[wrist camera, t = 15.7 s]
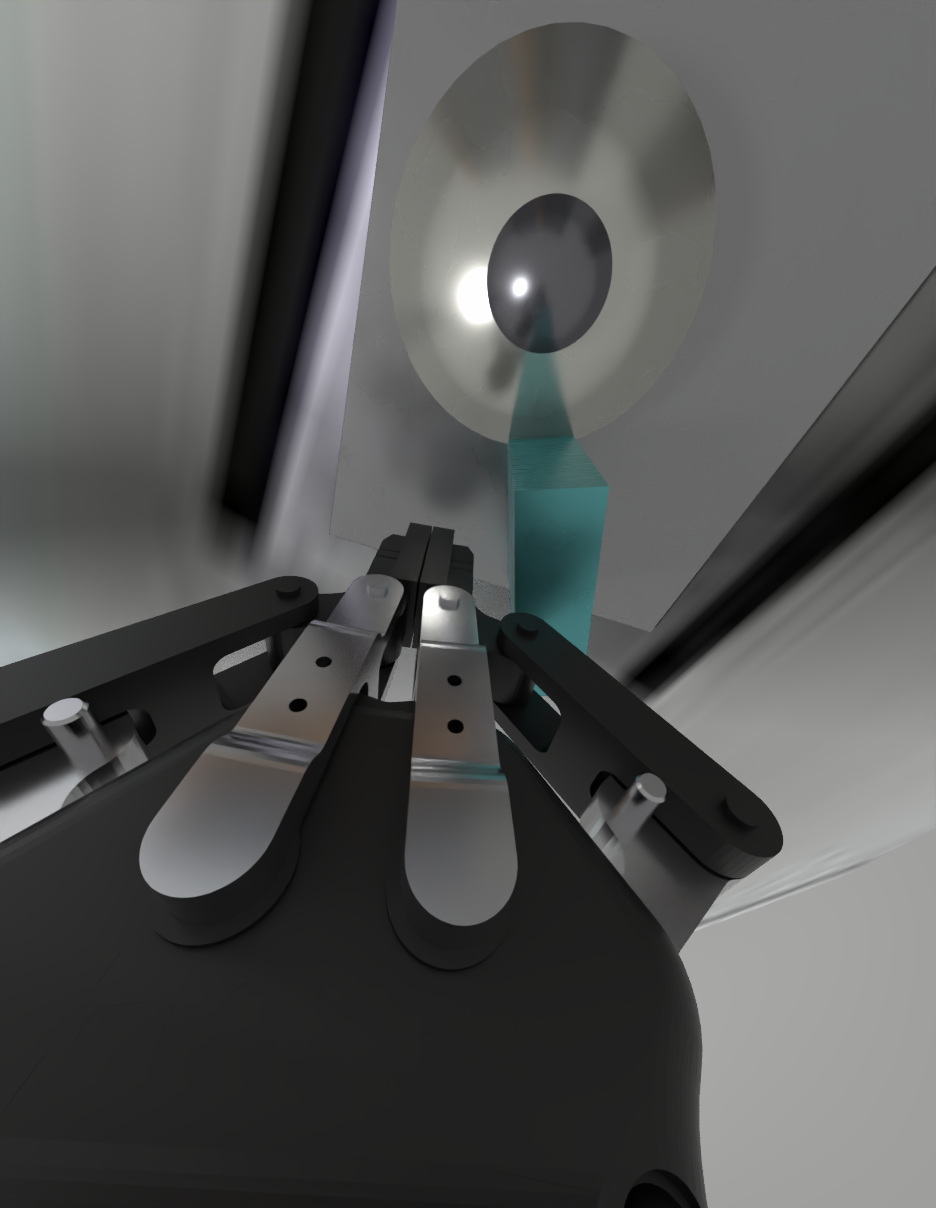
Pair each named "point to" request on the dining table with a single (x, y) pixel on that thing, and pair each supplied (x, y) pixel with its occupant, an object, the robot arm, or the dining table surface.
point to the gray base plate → (733, 288)
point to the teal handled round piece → (553, 274)
